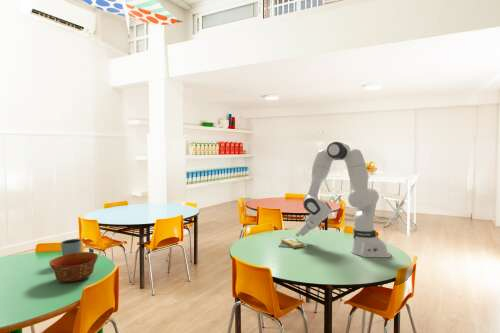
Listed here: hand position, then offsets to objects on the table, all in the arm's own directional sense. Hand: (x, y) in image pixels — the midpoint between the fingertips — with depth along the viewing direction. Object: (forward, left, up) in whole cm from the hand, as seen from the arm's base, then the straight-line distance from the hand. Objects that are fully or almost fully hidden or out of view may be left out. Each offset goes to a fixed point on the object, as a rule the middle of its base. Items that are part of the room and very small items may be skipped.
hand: (296, 235), depth 219 cm
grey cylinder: (+119, +66, -6) cm, 137 cm away
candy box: (-1, +1, -4) cm, 4 cm away
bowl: (+99, +86, -6) cm, 132 cm away
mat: (+5, 0, -5) cm, 8 cm away
